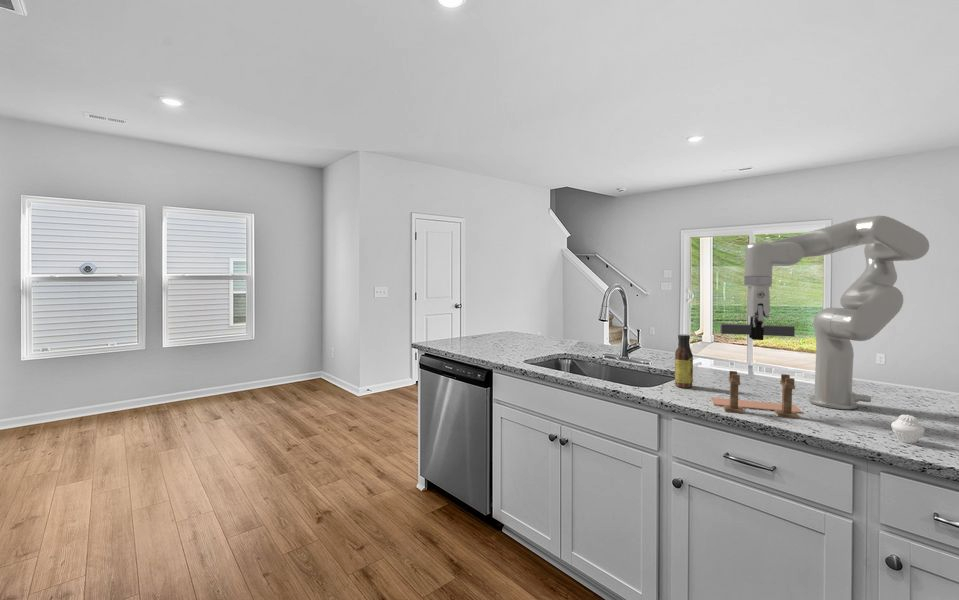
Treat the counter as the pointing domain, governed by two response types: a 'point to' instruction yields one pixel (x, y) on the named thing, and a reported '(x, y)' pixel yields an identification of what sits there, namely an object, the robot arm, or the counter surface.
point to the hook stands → (785, 412)
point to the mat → (754, 404)
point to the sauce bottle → (683, 363)
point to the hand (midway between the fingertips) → (756, 338)
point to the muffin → (907, 429)
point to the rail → (768, 329)
